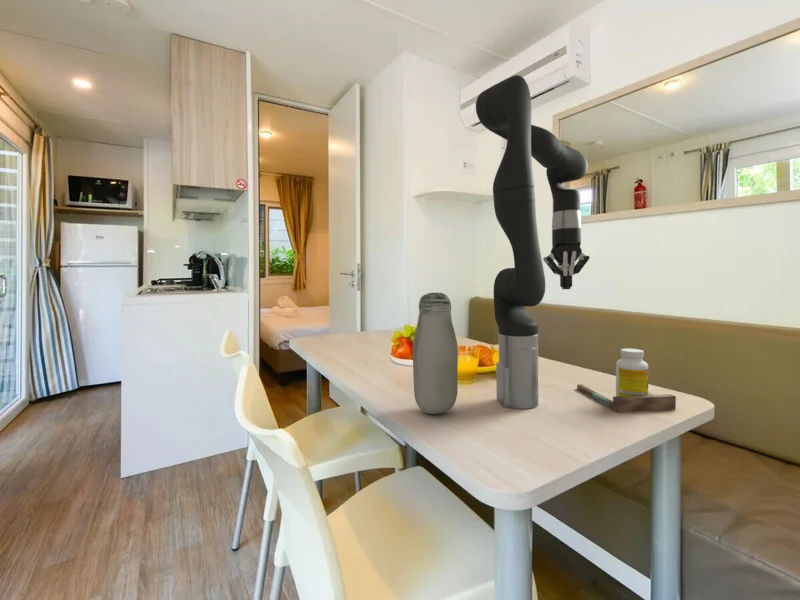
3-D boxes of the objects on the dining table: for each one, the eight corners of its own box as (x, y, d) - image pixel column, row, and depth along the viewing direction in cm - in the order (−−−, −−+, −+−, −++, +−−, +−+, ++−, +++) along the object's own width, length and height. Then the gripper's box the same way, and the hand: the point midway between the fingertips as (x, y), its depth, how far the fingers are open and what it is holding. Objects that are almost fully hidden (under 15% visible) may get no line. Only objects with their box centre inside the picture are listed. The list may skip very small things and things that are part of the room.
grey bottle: (432, 423, 82) (429, 294, 80) (406, 410, 91) (403, 293, 89) (467, 413, 87) (465, 292, 85) (439, 402, 96) (437, 291, 94)
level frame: (616, 411, 86) (617, 398, 86) (577, 388, 104) (577, 378, 103) (675, 409, 87) (675, 396, 87) (626, 386, 104) (626, 376, 104)
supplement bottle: (652, 408, 88) (653, 353, 87) (620, 406, 89) (621, 352, 89) (642, 399, 94) (642, 347, 93) (612, 397, 96) (612, 347, 95)
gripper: (549, 226, 104) (549, 290, 105) (596, 225, 104) (596, 289, 105) (538, 230, 111) (538, 289, 112) (582, 229, 112) (581, 288, 113)
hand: (566, 289), depth 109 cm, fingers closed
